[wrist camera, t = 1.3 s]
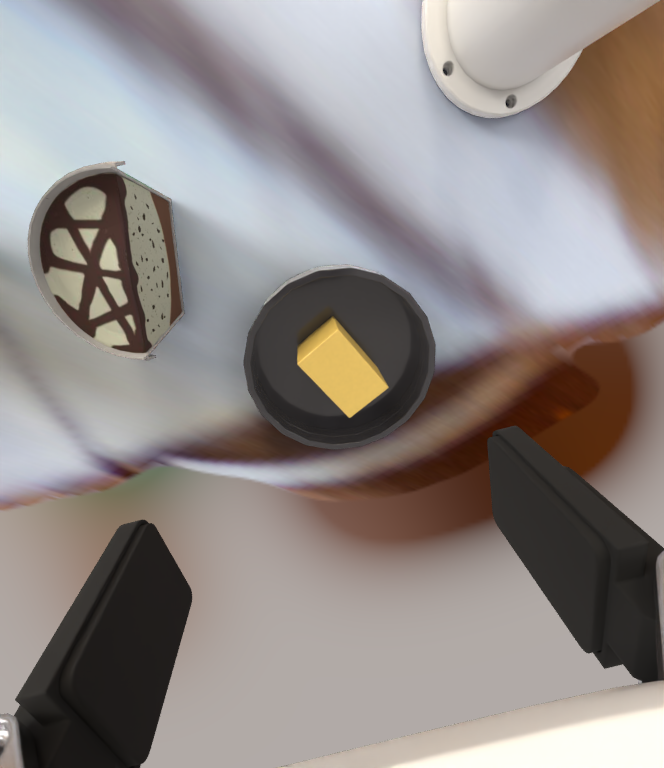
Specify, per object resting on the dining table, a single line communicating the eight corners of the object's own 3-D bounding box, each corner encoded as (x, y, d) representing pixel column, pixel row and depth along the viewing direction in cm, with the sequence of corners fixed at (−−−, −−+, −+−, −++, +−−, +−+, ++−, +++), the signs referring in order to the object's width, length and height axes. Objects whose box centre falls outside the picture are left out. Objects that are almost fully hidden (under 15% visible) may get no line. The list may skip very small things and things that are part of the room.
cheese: (332, 315, 34) (338, 329, 29) (377, 367, 36) (389, 387, 32) (296, 346, 35) (296, 364, 30) (343, 395, 37) (349, 418, 33)
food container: (86, 173, 28) (-14, 148, 19) (168, 177, 29) (108, 155, 20) (116, 328, 33) (48, 366, 24) (186, 329, 34) (145, 367, 25)
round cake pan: (350, 221, 31) (356, 220, 28) (455, 361, 37) (469, 374, 34) (211, 348, 35) (202, 361, 32) (328, 458, 41) (330, 478, 38)
